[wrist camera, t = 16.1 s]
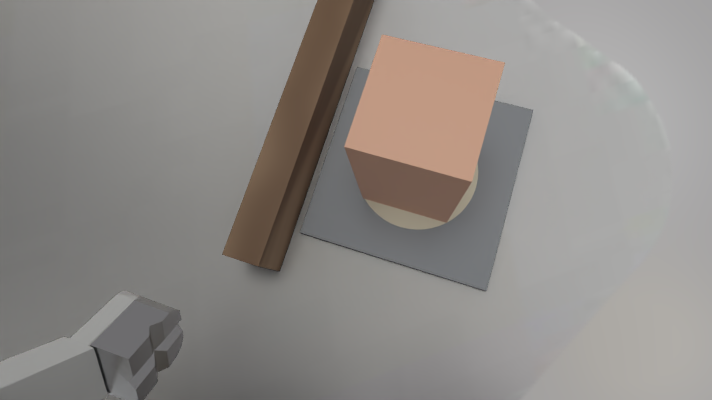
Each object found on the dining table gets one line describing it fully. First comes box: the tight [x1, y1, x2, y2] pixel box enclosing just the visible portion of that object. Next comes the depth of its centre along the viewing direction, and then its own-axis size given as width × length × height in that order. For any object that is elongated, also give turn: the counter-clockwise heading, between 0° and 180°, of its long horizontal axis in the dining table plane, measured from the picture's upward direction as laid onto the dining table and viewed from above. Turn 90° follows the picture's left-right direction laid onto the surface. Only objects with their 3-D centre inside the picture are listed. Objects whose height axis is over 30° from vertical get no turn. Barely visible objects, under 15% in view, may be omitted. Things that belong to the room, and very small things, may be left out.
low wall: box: [222, 0, 374, 271], centre depth 26 cm, size 2×20×4 cm, turn 162°
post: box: [344, 35, 505, 223], centre depth 21 cm, size 5×5×9 cm
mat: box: [300, 67, 533, 291], centre depth 26 cm, size 11×11×1 cm
